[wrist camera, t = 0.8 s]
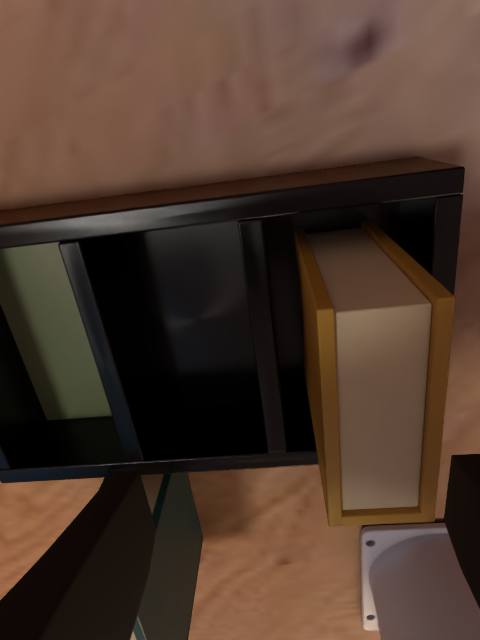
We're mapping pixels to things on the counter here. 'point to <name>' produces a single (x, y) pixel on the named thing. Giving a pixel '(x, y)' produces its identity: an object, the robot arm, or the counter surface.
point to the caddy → (185, 317)
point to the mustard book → (373, 373)
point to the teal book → (170, 559)
